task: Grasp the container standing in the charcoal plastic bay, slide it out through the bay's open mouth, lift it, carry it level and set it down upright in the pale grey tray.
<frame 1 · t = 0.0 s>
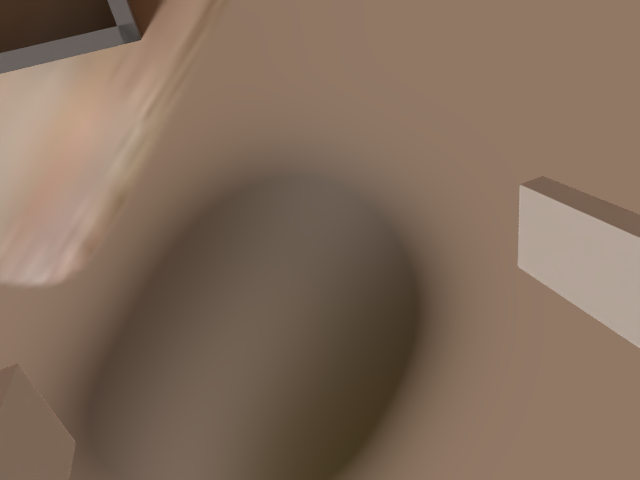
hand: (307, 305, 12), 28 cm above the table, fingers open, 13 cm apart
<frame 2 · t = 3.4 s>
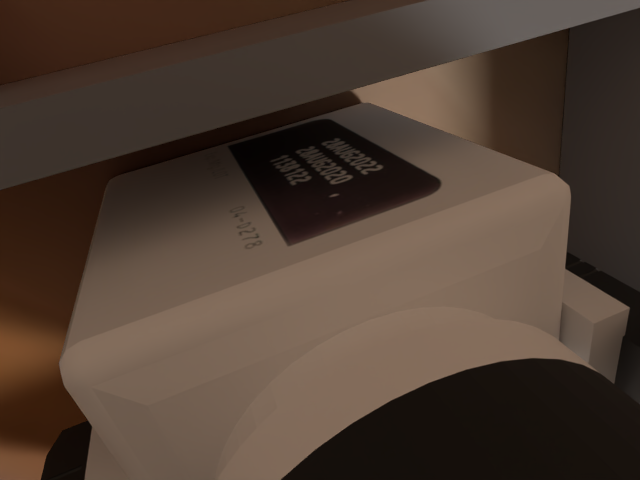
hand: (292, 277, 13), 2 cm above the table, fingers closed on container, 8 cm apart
container: (276, 247, 15), resting in bay, touching gripper
bay: (277, 251, 14), on the table
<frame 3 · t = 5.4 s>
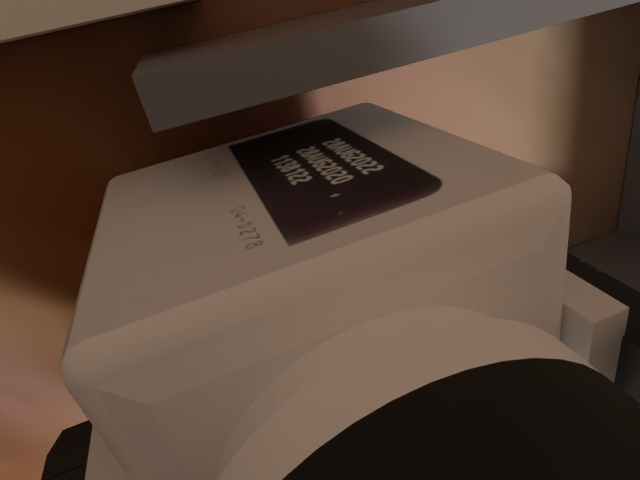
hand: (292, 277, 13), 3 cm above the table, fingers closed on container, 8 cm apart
container: (276, 247, 15), point 1 cm above the table, touching gripper
bay: (396, 193, 17), on the table
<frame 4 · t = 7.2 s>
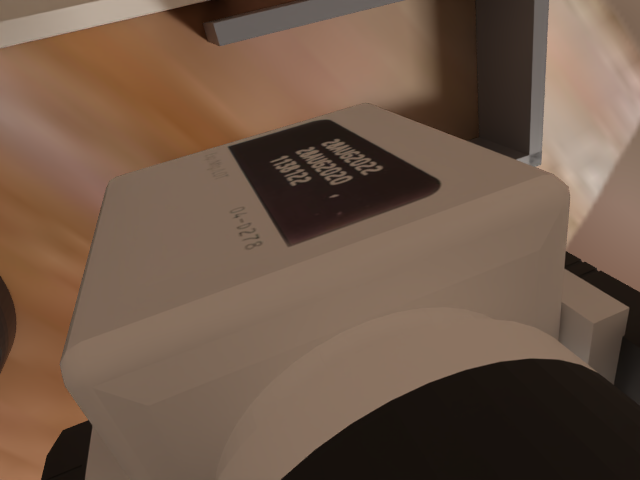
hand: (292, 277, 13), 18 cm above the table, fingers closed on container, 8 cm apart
container: (276, 248, 15), point 16 cm above the table, touching gripper
bay: (335, 103, 30), on the table
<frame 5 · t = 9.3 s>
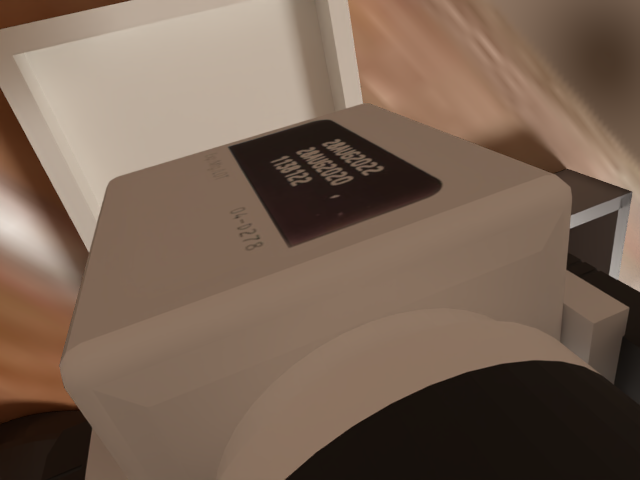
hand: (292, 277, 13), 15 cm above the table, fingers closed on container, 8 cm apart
container: (276, 248, 15), point 13 cm above the table, touching gripper
bay: (437, 289, 36), on the table
tray: (219, 151, 26), on the table
when the fingers open (4 cm above the table, at t = 11.3 s): container drops 1 cm, resting on tray.
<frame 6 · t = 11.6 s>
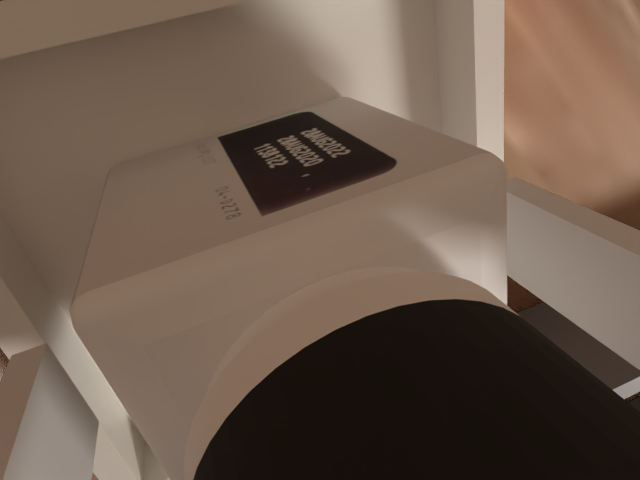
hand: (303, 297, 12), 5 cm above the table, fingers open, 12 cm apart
container: (265, 232, 16), resting on tray
bay: (545, 385, 26), on the table
tray: (264, 227, 16), on the table
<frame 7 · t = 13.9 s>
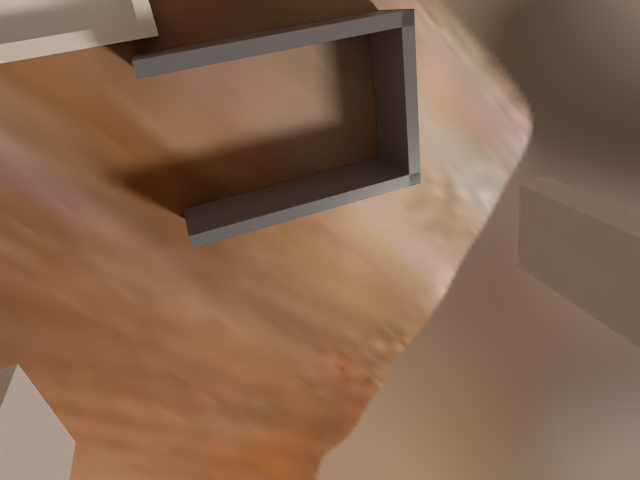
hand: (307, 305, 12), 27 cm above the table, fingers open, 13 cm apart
bay: (250, 124, 36), on the table
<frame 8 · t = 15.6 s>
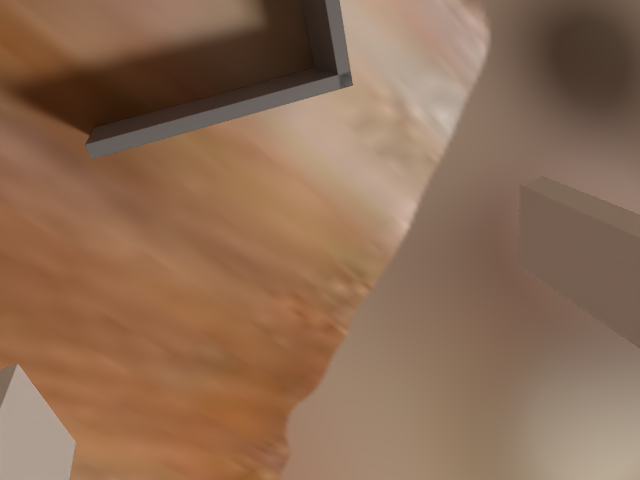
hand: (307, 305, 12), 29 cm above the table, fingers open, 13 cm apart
bay: (158, 27, 33), on the table
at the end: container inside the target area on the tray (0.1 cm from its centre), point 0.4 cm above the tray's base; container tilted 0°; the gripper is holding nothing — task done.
